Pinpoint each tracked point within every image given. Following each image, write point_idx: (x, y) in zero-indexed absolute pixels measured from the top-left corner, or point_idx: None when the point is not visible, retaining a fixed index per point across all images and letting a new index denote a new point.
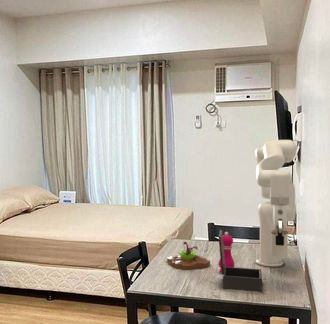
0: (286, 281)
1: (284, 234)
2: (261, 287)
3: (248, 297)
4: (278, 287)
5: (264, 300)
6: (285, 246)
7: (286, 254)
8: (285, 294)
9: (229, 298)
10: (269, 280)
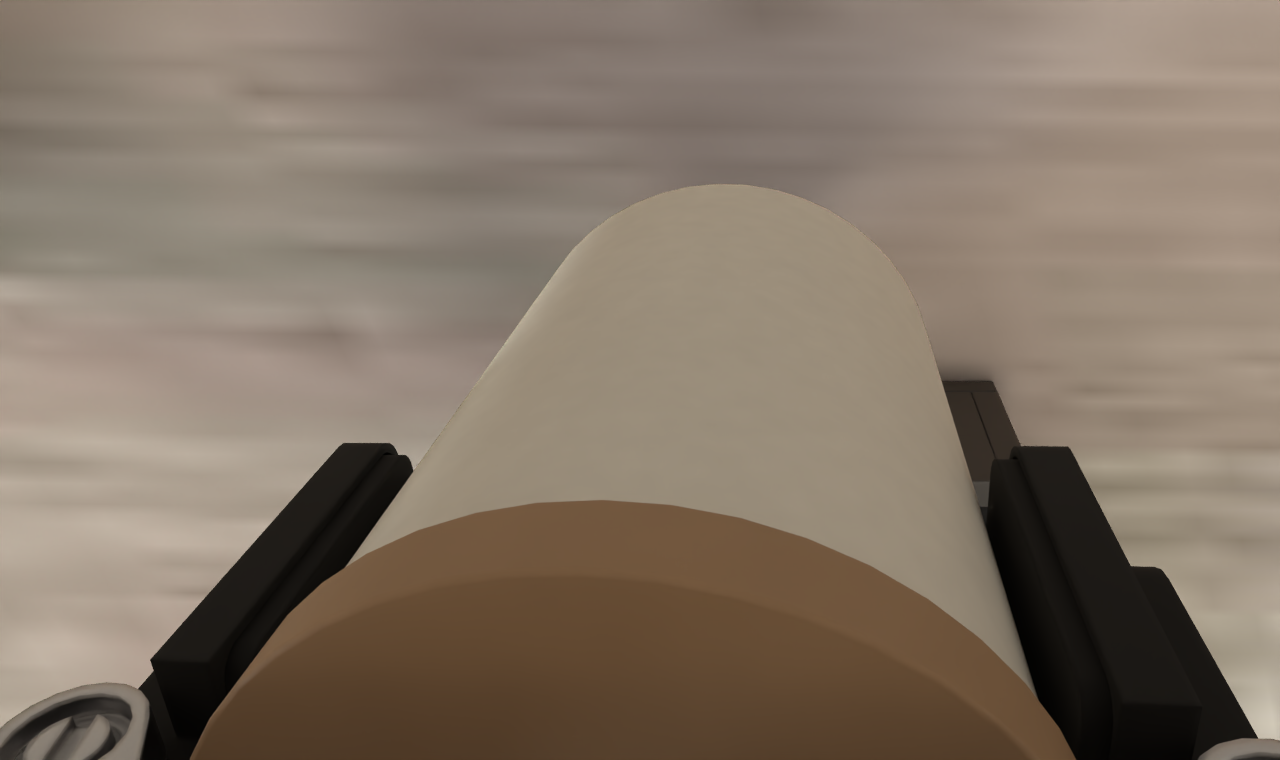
0: (309, 59)
1: (1051, 718)
2: (1008, 424)
3: (1175, 525)
4: (640, 173)
5: (1273, 354)
6: (890, 345)
7: (828, 221)
8: (943, 82)
9: (1248, 704)
10: (368, 283)
